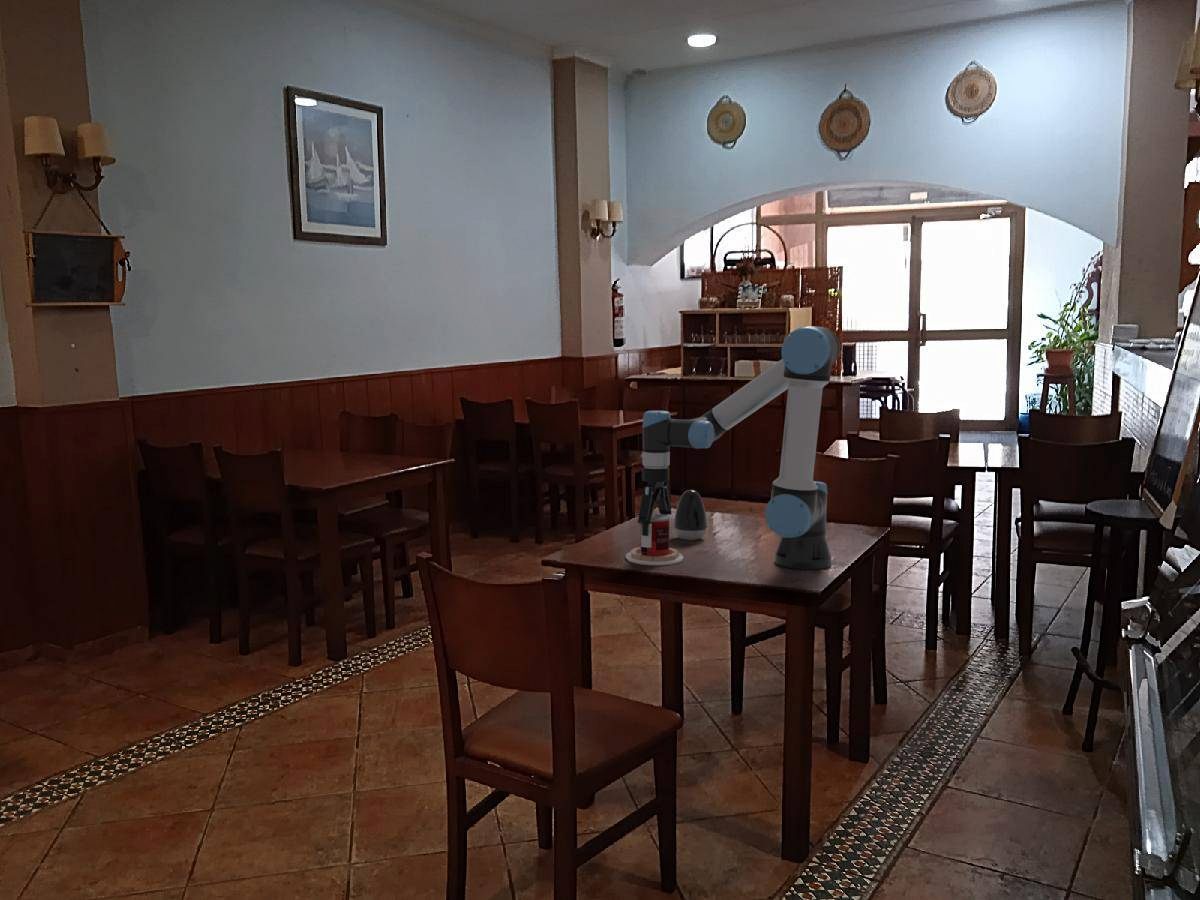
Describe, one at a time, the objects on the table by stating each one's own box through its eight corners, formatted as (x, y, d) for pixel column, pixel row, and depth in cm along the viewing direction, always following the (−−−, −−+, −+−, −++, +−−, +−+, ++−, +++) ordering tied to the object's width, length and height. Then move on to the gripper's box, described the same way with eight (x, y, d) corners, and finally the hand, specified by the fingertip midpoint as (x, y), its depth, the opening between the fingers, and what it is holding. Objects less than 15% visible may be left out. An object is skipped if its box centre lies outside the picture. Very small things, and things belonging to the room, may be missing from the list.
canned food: (642, 552, 272) (642, 513, 270) (670, 553, 270) (670, 514, 269) (638, 558, 264) (638, 518, 263) (667, 559, 263) (667, 519, 262)
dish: (690, 555, 272) (690, 548, 271) (672, 568, 257) (672, 560, 257) (638, 549, 278) (638, 543, 278) (617, 562, 263) (617, 554, 263)
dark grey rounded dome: (706, 535, 298) (707, 487, 296) (707, 542, 288) (708, 492, 286) (673, 534, 299) (674, 486, 297) (673, 541, 289) (673, 492, 287)
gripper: (658, 460, 277) (657, 532, 280) (626, 471, 254) (625, 550, 257) (683, 461, 274) (681, 534, 277) (652, 473, 251) (651, 552, 254)
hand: (654, 542), depth 267 cm, fingers open, 13 cm apart
